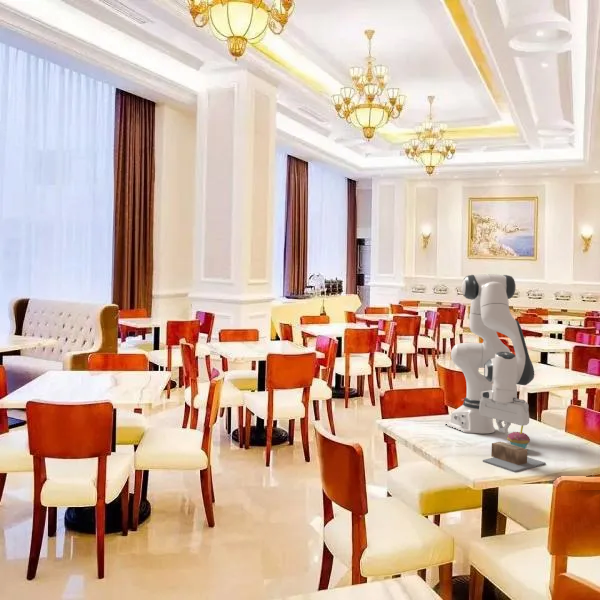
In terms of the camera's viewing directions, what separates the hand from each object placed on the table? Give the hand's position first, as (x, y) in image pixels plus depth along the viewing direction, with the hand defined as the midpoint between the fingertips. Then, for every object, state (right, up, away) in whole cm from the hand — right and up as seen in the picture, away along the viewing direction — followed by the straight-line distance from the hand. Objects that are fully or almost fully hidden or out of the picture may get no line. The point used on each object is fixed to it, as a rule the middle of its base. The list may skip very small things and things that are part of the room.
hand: (502, 432), depth 228 cm
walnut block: (-2, -7, +3) cm, 8 cm away
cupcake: (+11, -10, +13) cm, 20 cm away
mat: (+3, -11, -4) cm, 12 cm away
